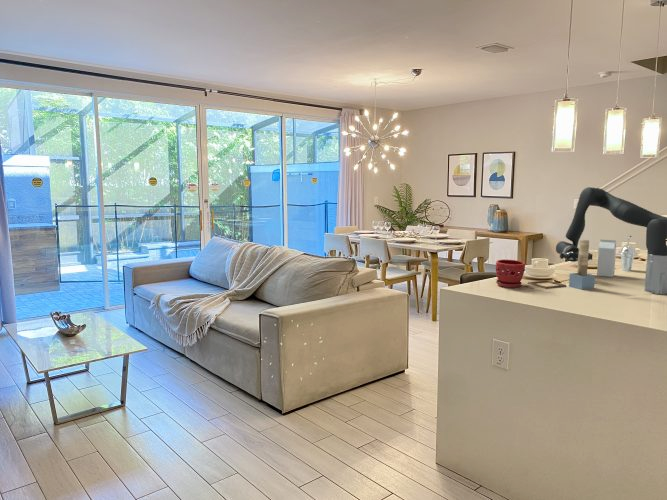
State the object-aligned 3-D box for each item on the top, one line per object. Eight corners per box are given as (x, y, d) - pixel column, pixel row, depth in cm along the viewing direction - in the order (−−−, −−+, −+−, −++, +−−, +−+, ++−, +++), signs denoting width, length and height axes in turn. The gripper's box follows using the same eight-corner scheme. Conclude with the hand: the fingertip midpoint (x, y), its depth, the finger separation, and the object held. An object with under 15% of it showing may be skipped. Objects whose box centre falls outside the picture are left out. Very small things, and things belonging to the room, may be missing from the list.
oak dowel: (588, 288, 228) (591, 240, 225) (581, 288, 227) (584, 241, 224) (581, 286, 232) (584, 239, 229) (574, 286, 231) (577, 240, 228)
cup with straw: (637, 270, 276) (640, 234, 273) (631, 272, 270) (634, 236, 267) (621, 268, 282) (623, 233, 279) (615, 270, 276) (617, 234, 273)
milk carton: (612, 277, 257) (614, 241, 254) (596, 275, 261) (599, 240, 258) (614, 275, 262) (616, 239, 260) (599, 273, 267) (601, 238, 264)
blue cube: (593, 290, 227) (594, 275, 226) (581, 291, 225) (582, 276, 224) (581, 286, 234) (582, 272, 233) (568, 288, 232) (569, 273, 231)
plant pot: (492, 287, 235) (493, 262, 234) (497, 282, 247) (498, 258, 245) (521, 289, 229) (523, 264, 228) (525, 284, 241) (526, 260, 239)
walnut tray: (566, 288, 232) (566, 284, 232) (545, 290, 228) (545, 286, 228) (547, 283, 243) (547, 280, 243) (527, 285, 239) (527, 282, 239)
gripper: (557, 245, 255) (562, 249, 239) (587, 246, 251) (595, 250, 236) (556, 260, 256) (562, 265, 240) (586, 261, 252) (594, 266, 237)
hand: (578, 258), depth 238 cm, fingers open, 8 cm apart
